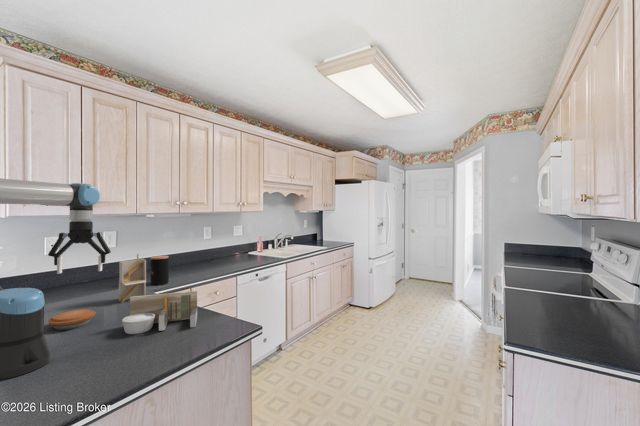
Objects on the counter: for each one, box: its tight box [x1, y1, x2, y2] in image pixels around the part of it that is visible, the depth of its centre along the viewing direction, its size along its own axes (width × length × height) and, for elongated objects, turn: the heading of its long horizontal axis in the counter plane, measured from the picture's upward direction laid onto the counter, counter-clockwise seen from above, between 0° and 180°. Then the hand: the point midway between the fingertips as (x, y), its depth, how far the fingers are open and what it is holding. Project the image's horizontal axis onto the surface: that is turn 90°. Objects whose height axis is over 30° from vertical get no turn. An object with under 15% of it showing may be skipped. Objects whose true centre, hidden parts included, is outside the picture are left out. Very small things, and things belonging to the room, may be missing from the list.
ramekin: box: [121, 313, 155, 335], centre depth 119 cm, size 11×11×5 cm
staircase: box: [118, 253, 147, 303], centre depth 158 cm, size 8×12×26 cm
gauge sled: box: [158, 296, 169, 332], centre depth 122 cm, size 10×2×11 cm, turn 20°
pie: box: [47, 308, 96, 331], centre depth 124 cm, size 16×16×5 cm
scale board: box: [129, 290, 198, 324], centre depth 127 cm, size 1×26×12 cm, turn 110°
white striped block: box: [189, 307, 198, 328], centre depth 125 cm, size 10×2×5 cm, turn 20°
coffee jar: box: [150, 255, 170, 286], centre depth 195 cm, size 11×11×18 cm
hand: (80, 272), depth 121 cm, fingers open, 13 cm apart
